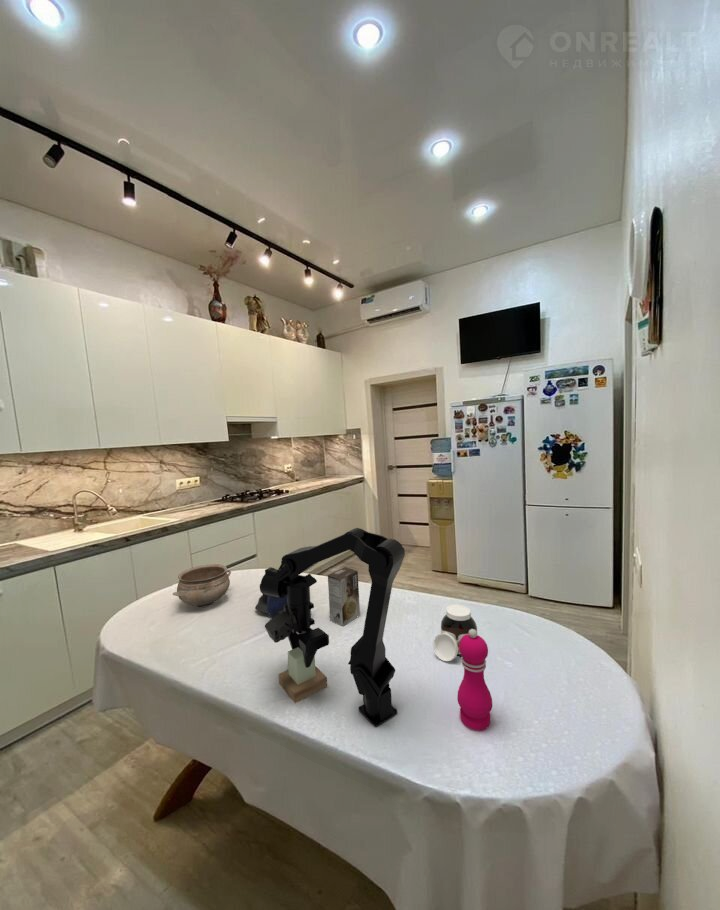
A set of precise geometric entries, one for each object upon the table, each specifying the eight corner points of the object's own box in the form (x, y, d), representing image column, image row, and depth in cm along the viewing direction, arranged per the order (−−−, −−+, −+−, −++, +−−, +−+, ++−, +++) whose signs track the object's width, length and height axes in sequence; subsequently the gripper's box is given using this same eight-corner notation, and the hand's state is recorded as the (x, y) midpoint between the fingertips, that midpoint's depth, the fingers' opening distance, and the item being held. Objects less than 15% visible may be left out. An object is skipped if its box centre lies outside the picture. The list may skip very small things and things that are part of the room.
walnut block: (327, 688, 90) (326, 676, 90) (295, 705, 85) (294, 693, 85) (310, 670, 97) (309, 660, 97) (279, 685, 92) (278, 674, 92)
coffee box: (346, 610, 129) (344, 566, 129) (360, 615, 125) (358, 570, 125) (329, 621, 122) (326, 574, 122) (343, 626, 118) (340, 578, 118)
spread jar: (477, 644, 106) (476, 605, 105) (479, 668, 95) (478, 625, 94) (435, 639, 109) (434, 602, 108) (432, 662, 98) (431, 620, 97)
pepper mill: (485, 705, 82) (483, 620, 81) (498, 731, 74) (496, 637, 73) (453, 708, 81) (451, 621, 80) (464, 734, 74) (461, 639, 73)
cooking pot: (215, 586, 156) (214, 559, 155) (246, 594, 146) (245, 565, 146) (159, 612, 134) (157, 580, 134) (191, 623, 125) (189, 588, 124)
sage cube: (315, 676, 90) (314, 652, 90) (297, 684, 87) (296, 660, 87) (306, 666, 94) (305, 644, 94) (288, 674, 91) (287, 651, 91)
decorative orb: (283, 626, 110) (301, 577, 117) (250, 615, 118) (269, 570, 125) (309, 636, 120) (324, 590, 127) (276, 625, 128) (293, 582, 135)
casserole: (280, 586, 153) (279, 567, 153) (319, 591, 147) (318, 571, 147) (242, 614, 130) (241, 591, 129) (288, 621, 123) (286, 597, 123)
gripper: (254, 597, 93) (257, 656, 93) (284, 626, 78) (288, 695, 78) (293, 585, 99) (296, 640, 100) (328, 609, 84) (331, 674, 85)
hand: (301, 660), depth 91 cm, fingers open, 6 cm apart
